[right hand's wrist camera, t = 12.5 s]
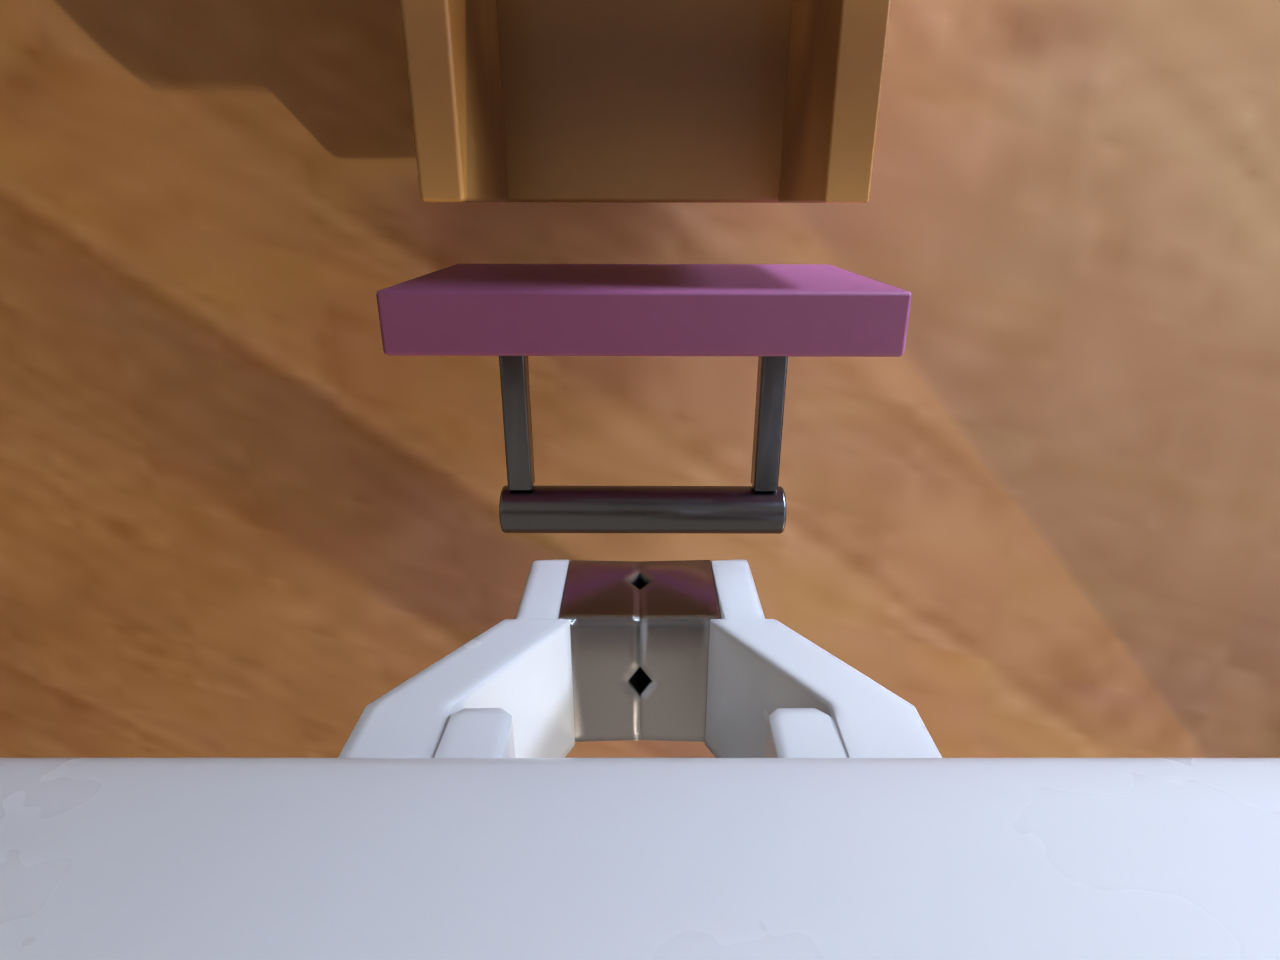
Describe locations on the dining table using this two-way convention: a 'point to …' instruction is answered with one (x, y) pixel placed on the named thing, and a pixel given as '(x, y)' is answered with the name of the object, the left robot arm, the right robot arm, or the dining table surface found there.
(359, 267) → the dining table surface
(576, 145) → the drawer
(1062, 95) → the dining table surface
